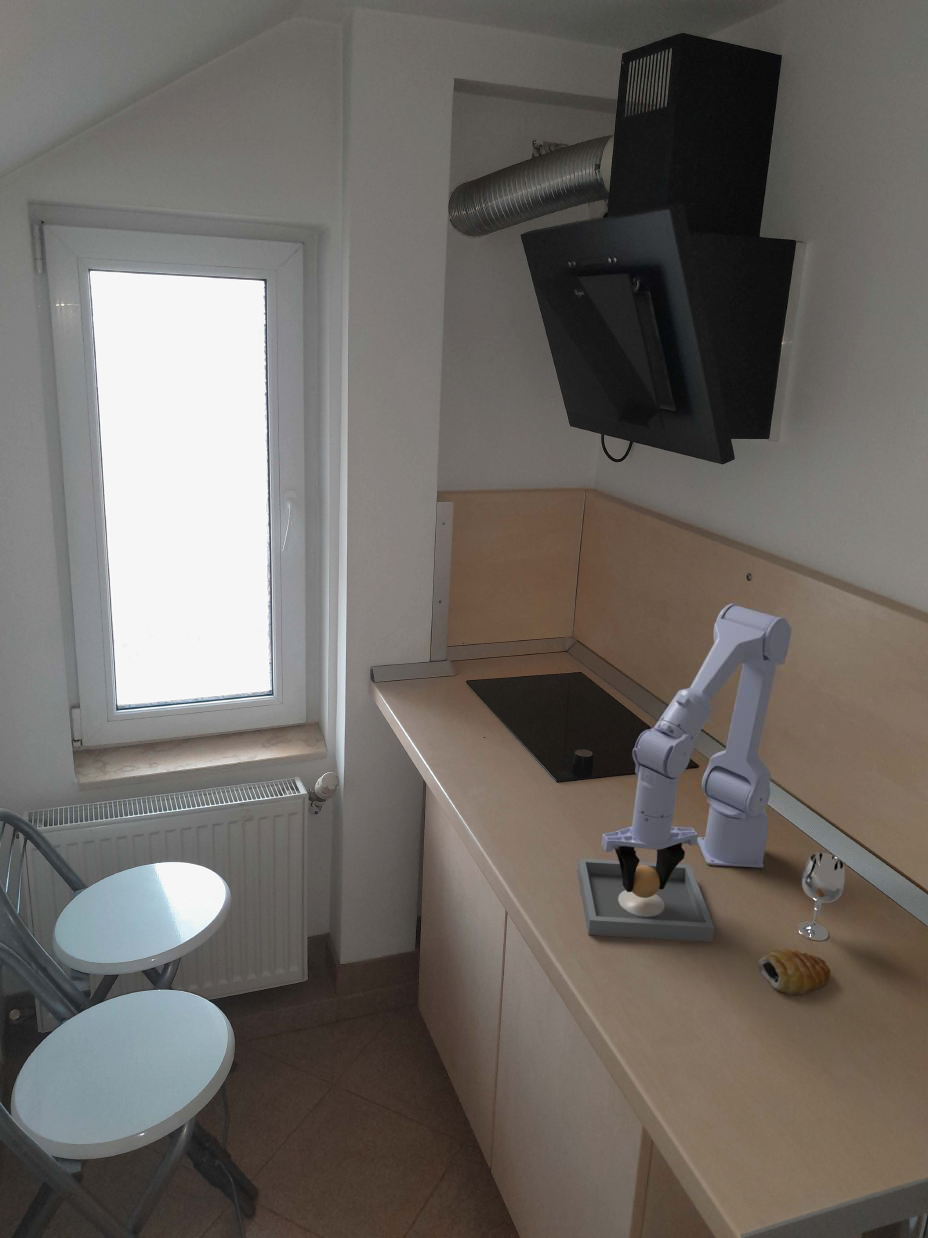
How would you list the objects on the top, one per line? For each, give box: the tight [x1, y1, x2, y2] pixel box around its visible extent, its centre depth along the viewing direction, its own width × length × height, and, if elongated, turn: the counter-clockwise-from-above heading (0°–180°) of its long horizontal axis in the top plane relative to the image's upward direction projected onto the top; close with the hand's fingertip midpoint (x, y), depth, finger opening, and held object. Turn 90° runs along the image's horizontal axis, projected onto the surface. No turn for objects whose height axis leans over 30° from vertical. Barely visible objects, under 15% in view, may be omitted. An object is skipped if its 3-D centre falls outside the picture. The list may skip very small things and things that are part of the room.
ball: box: [632, 865, 660, 898], centre depth 137 cm, size 5×5×5 cm
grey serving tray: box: [576, 857, 716, 943], centre depth 138 cm, size 18×16×2 cm
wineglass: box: [796, 852, 846, 942], centre depth 133 cm, size 6×6×12 cm
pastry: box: [757, 948, 831, 996], centre depth 124 cm, size 9×7×4 cm
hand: (643, 887), depth 137 cm, fingers closed on ball, 5 cm apart
